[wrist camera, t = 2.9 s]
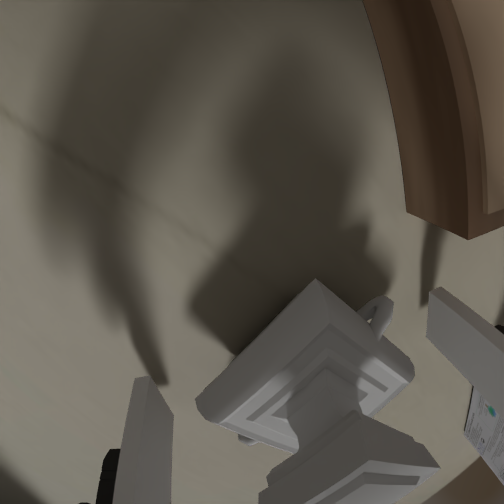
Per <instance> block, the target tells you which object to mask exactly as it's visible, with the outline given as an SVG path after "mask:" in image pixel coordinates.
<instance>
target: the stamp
mask: <svg viewBox="0 0 504 504" xmlns="http://www.w3.org/2000/svg"><path fill="white" fill-rule="evenodd" d="M393 305H394V302H393V301H392V300H391V299H389V298H388V297H386V296H385V295H381V296H378V297H375V298H373V299H372V300H370V301H369V302H367V303H366V304H365V305H364V306H363V307H361V308H360V309H359V310H358V311H357V312H355V311H354V310H353V309H352V308H351V307H349V306H348V305H347V304H346V303H345V302H344V301H342V300H341V299H340V298H339V297H338V296H336V295H335V294H334V293H333V292H332V291H330V290H329V289H328V288H327V287H326V286H325V285H323V284H322V283H321V282H320V281H319V280H317V279H316V278H315V279H314V280H313V281H312V282H311V283H309V284H308V285H307V286H306V287H305V289H304V290H303V291H302V292H301V293H298V294H297V295H296V297H295V298H294V299H293V300H292V301H291V302H290V303H289V304H288V305H287V306H286V307H285V308H284V309H283V310H282V311H281V312H280V313H279V314H278V315H277V316H276V317H275V319H274V320H273V321H272V322H271V323H270V324H269V325H268V326H267V327H266V328H265V329H264V330H263V331H262V332H261V333H260V334H259V335H258V336H257V337H256V338H255V339H254V340H253V341H252V342H251V343H250V344H249V345H248V346H247V347H246V348H245V349H244V350H243V351H242V352H241V353H240V354H239V355H238V356H237V357H236V358H235V359H234V360H233V361H232V362H231V363H230V364H229V366H228V367H227V368H226V369H225V370H224V371H223V372H222V373H221V374H220V375H219V376H218V377H217V378H216V379H214V380H213V381H212V382H211V383H210V384H209V385H208V386H207V387H206V388H205V389H204V391H203V392H202V393H201V394H200V395H199V396H198V397H196V398H195V401H196V405H197V409H198V411H199V412H200V413H201V414H202V416H203V417H204V418H205V419H206V420H208V421H210V422H212V423H214V424H217V425H219V426H221V427H224V428H226V429H228V430H231V431H233V432H236V433H238V439H239V441H241V442H243V443H245V444H247V445H248V446H252V445H254V444H256V443H259V442H261V443H264V444H267V445H269V446H272V447H275V448H278V449H281V450H284V451H287V452H290V453H293V454H294V455H292V456H291V457H289V458H288V459H286V460H285V461H283V462H282V463H280V464H279V465H277V466H276V467H274V468H273V469H272V470H271V471H270V473H269V474H268V475H267V477H266V478H267V482H268V486H269V487H268V488H266V489H265V490H263V491H261V492H260V493H259V503H258V504H394V503H395V502H397V501H398V500H399V499H401V498H402V497H404V496H405V495H407V494H408V493H409V492H411V491H412V490H414V489H415V488H416V487H418V486H419V485H420V484H422V483H423V482H424V481H426V480H427V479H428V478H429V477H431V476H432V475H433V474H434V473H436V472H437V471H438V470H439V469H440V466H439V465H438V464H437V462H436V461H435V460H434V458H433V457H432V456H431V454H430V453H429V452H428V450H427V449H426V448H425V446H424V445H423V444H420V443H417V442H415V441H414V439H413V437H411V436H409V435H407V434H404V433H402V432H400V431H398V430H396V429H393V428H391V427H389V426H387V425H385V424H383V423H381V422H379V421H376V420H374V419H372V418H371V417H372V416H374V415H375V414H376V413H377V412H378V411H379V410H381V409H382V408H383V407H384V406H385V405H386V404H387V403H389V402H390V401H391V400H392V399H393V398H394V397H395V396H396V395H397V394H399V393H400V392H401V391H402V390H403V389H404V388H405V387H406V386H407V385H408V384H409V383H410V382H411V381H412V380H413V378H414V376H415V371H414V365H413V364H412V362H411V360H410V358H409V357H408V356H406V355H405V354H404V353H403V352H402V351H401V350H400V349H398V348H397V347H396V346H395V345H394V344H393V343H391V342H390V341H389V340H388V339H387V338H386V337H385V336H383V333H384V331H385V329H386V328H387V326H388V325H389V323H390V322H391V320H392V314H393ZM371 318H372V320H371V322H370V324H369V323H368V322H367V320H369V319H371Z"/></svg>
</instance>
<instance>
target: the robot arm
mask: <svg viewBox="0 0 504 504" xmlns="http://www.w3.org/2000/svg"><path fill="white" fill-rule="evenodd" d="M426 337H427V338H428V339H429V340H430V341H431V342H432V343H433V344H434V345H435V346H436V348H437V349H438V350H439V351H440V352H441V353H442V354H443V355H444V356H445V357H446V358H447V359H448V360H449V361H450V362H451V363H452V364H453V365H454V366H455V367H456V368H457V369H458V370H459V371H460V372H461V373H462V375H463V376H464V377H465V378H466V379H467V380H468V381H469V382H470V383H471V384H472V385H473V386H474V387H475V388H476V390H477V391H478V392H479V393H480V394H481V395H482V396H483V397H484V398H485V399H486V400H487V402H488V403H489V404H490V405H491V406H492V407H493V408H494V409H495V411H496V412H497V413H498V414H499V415H500V416H501V417H502V418H503V420H504V326H501V325H497V326H495V327H494V326H492V325H491V324H490V323H489V322H487V321H486V320H485V319H483V318H482V317H481V316H480V315H478V314H477V313H476V312H474V311H473V310H472V309H471V308H469V307H468V306H467V305H465V304H464V303H463V302H461V301H460V300H459V299H457V298H456V297H455V296H453V295H452V294H451V293H449V292H448V291H446V290H445V289H444V288H442V287H439V288H436V289H434V290H432V291H429V303H428V319H427V332H426ZM173 420H174V415H173V413H172V412H171V410H170V408H169V407H168V405H167V403H166V402H165V400H164V398H163V397H162V395H161V393H160V391H159V390H158V388H157V386H156V385H155V383H154V381H153V379H152V377H151V376H144V377H139V378H135V380H134V385H133V389H132V394H131V398H130V403H129V408H128V413H127V418H126V423H125V428H124V433H123V439H122V444H121V449H110V450H109V452H108V453H107V455H106V456H105V458H104V460H103V465H102V472H101V475H100V481H99V486H98V492H97V498H96V504H171V473H172V442H173ZM79 504H90V503H79Z"/></svg>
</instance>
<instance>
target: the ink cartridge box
mask: <svg viewBox="0 0 504 504" xmlns="http://www.w3.org/2000/svg"><path fill="white" fill-rule="evenodd" d="M464 435H465V437H466V438H467V439H468V440H469V442H470V443H471V444H472V445H473V447H474V448H475V449H476V450H477V452H478V453H479V454H480V455H481V457H482V458H483V459H484V460H485V462H486V463H487V464H488V465H489V467H490V468H491V469H492V471H493V472H494V473H495V474H496V476H497V477H498V479H499V480H500V481H501V482H502V484H503V485H504V420H503V418H502V417H501V416H500V415H499V414H498V413H497V412H496V411H495V409H494V408H493V407H492V406H491V405H490V404H489V403H488V402H487V400H486V399H485V398H484V397H483V396H482V395H481V394H480V393H479V392H478V391H477V390H476V388H475V387H473V393H472V399H471V405H470V410H469V414H468V419H467V423H466V428H465V432H464Z"/></svg>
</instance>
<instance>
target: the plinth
mask: <svg viewBox="0 0 504 504" xmlns="http://www.w3.org/2000/svg"><path fill="white" fill-rule="evenodd" d="M363 3H364V6H365V9H366V12H367V15H368V18H369V21H370V24H371V27H372V30H373V33H374V37H375V40H376V44H377V47H378V51H379V54H380V58H381V62H382V66H383V70H384V74H385V78H386V82H387V86H388V91H389V95H390V100H391V105H392V110H393V115H394V120H395V126H396V131H397V137H398V143H399V150H400V157H401V164H402V171H403V180H404V188H405V198H406V209H407V213H410V214H412V215H414V216H417V217H419V218H421V219H424V220H426V221H428V222H430V223H432V224H435V225H437V226H439V227H441V228H443V229H446V230H448V231H450V232H452V233H454V234H456V235H458V236H460V237H462V238H465V239H467V240H470V239H473V238H475V237H478V236H480V235H483V234H485V233H488V232H490V231H493V230H495V229H498V228H500V227H502V226H504V0H363Z"/></svg>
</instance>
